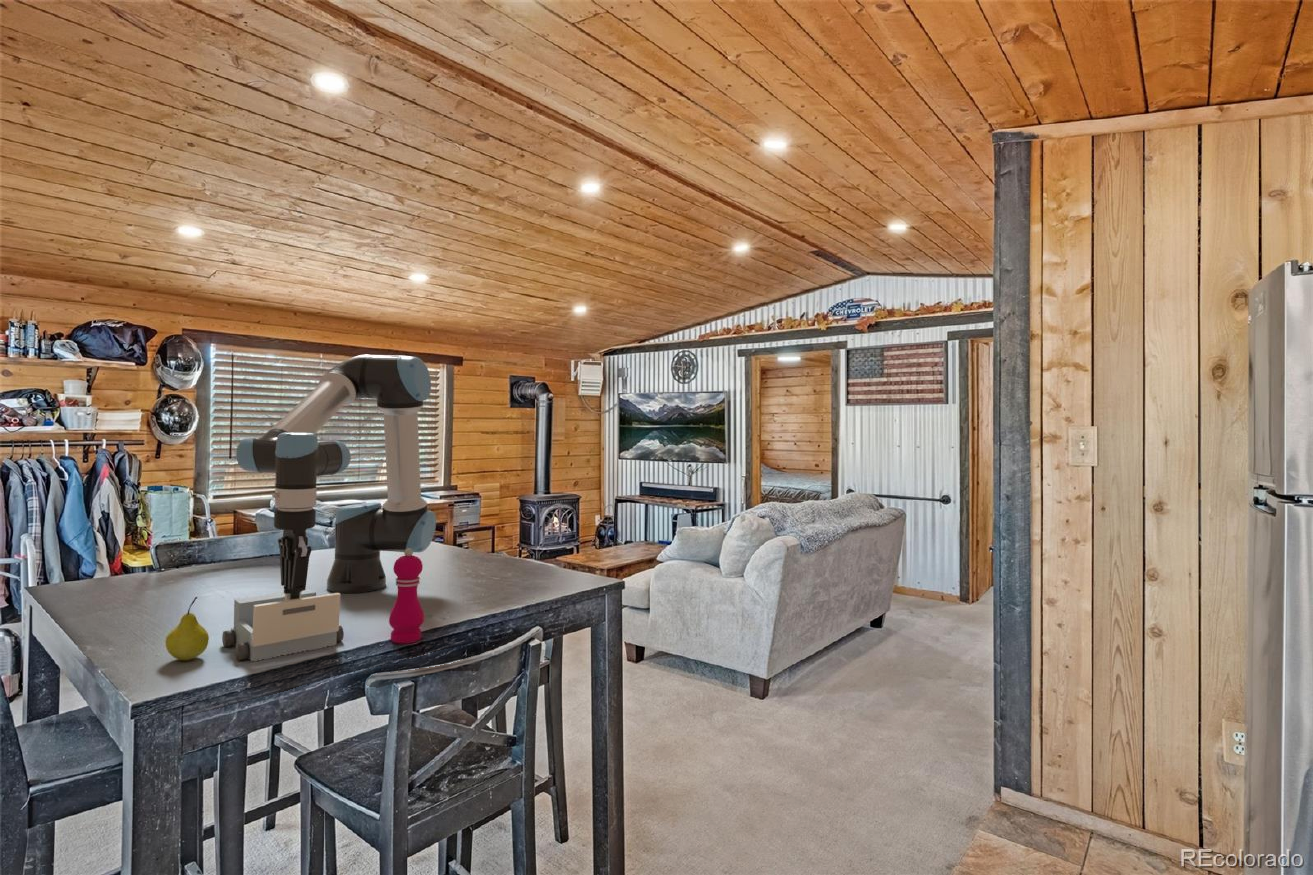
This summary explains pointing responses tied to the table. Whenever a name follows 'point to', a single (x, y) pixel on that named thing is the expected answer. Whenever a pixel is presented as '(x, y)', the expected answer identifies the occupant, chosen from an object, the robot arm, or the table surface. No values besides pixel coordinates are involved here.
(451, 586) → the table surface
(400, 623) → the pepper mill
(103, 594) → the table surface
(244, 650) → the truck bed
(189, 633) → the fruit
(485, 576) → the table surface
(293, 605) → the panel
